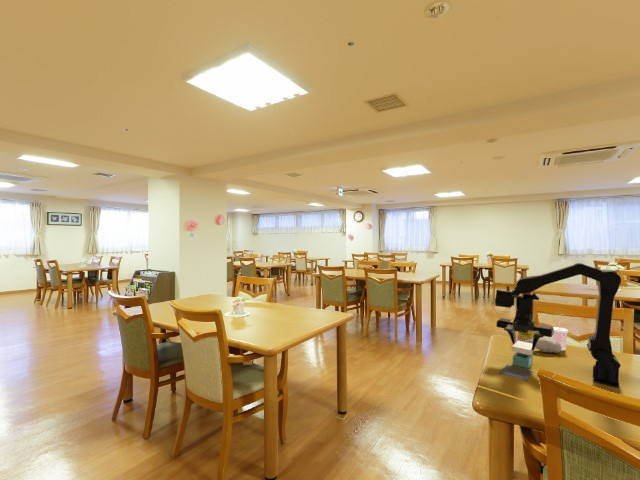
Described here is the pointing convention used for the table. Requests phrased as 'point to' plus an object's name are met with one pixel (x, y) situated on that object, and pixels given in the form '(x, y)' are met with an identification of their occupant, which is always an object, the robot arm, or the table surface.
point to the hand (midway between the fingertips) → (523, 348)
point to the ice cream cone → (546, 345)
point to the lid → (522, 347)
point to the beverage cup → (560, 336)
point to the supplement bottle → (525, 335)
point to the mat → (516, 372)
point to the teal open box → (522, 360)
